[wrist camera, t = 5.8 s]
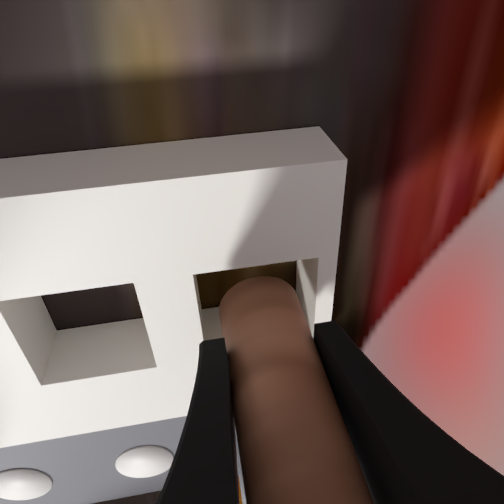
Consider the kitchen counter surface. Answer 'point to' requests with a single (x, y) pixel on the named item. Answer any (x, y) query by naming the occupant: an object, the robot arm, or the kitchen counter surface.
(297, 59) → the kitchen counter surface
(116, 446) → the studded grey block
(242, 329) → the terracotta pin
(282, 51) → the kitchen counter surface
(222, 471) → the robot arm
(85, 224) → the peg board
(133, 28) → the kitchen counter surface
